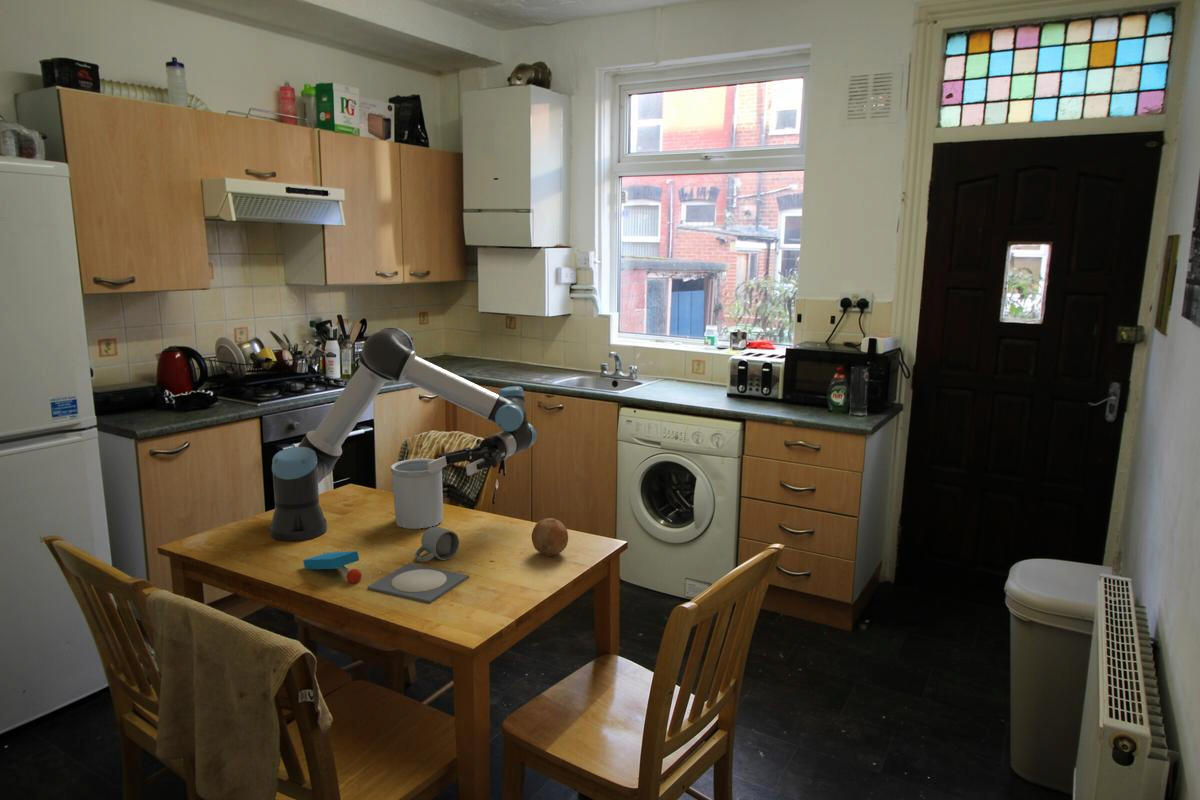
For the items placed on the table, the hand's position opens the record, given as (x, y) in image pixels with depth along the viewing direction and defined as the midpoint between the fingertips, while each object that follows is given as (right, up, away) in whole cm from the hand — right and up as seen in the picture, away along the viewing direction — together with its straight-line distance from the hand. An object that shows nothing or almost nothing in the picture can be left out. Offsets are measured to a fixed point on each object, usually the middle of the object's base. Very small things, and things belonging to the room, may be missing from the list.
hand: (447, 469), depth 209 cm
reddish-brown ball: (+27, -23, 0) cm, 36 cm away
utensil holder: (-13, -18, +24) cm, 33 cm away
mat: (-3, -26, -19) cm, 32 cm away
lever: (-25, -25, -14) cm, 38 cm away
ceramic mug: (-3, -23, -3) cm, 23 cm away
